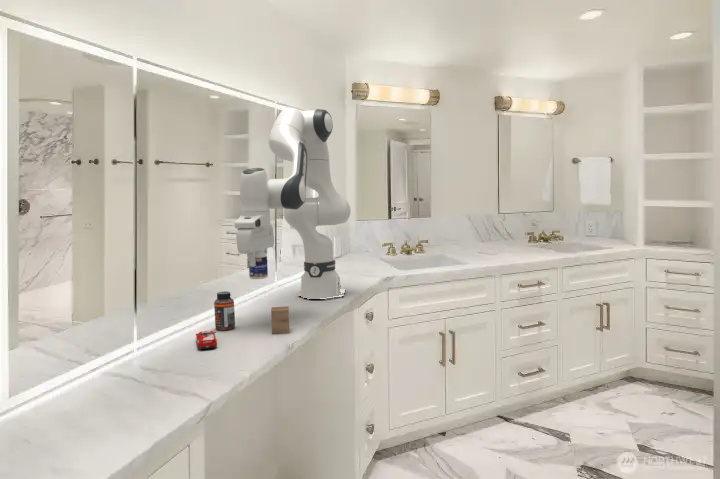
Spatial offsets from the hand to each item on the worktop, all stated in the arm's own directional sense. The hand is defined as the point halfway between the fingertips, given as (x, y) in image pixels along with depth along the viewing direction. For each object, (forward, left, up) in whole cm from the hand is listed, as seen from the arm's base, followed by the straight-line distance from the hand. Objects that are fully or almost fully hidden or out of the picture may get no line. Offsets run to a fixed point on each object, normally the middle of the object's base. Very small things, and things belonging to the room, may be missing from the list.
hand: (258, 264), depth 168 cm
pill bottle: (0, 0, -5) cm, 4 cm away
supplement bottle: (+7, -9, -19) cm, 22 cm away
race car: (+24, -6, -19) cm, 31 cm away
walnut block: (+8, +10, -19) cm, 23 cm away
